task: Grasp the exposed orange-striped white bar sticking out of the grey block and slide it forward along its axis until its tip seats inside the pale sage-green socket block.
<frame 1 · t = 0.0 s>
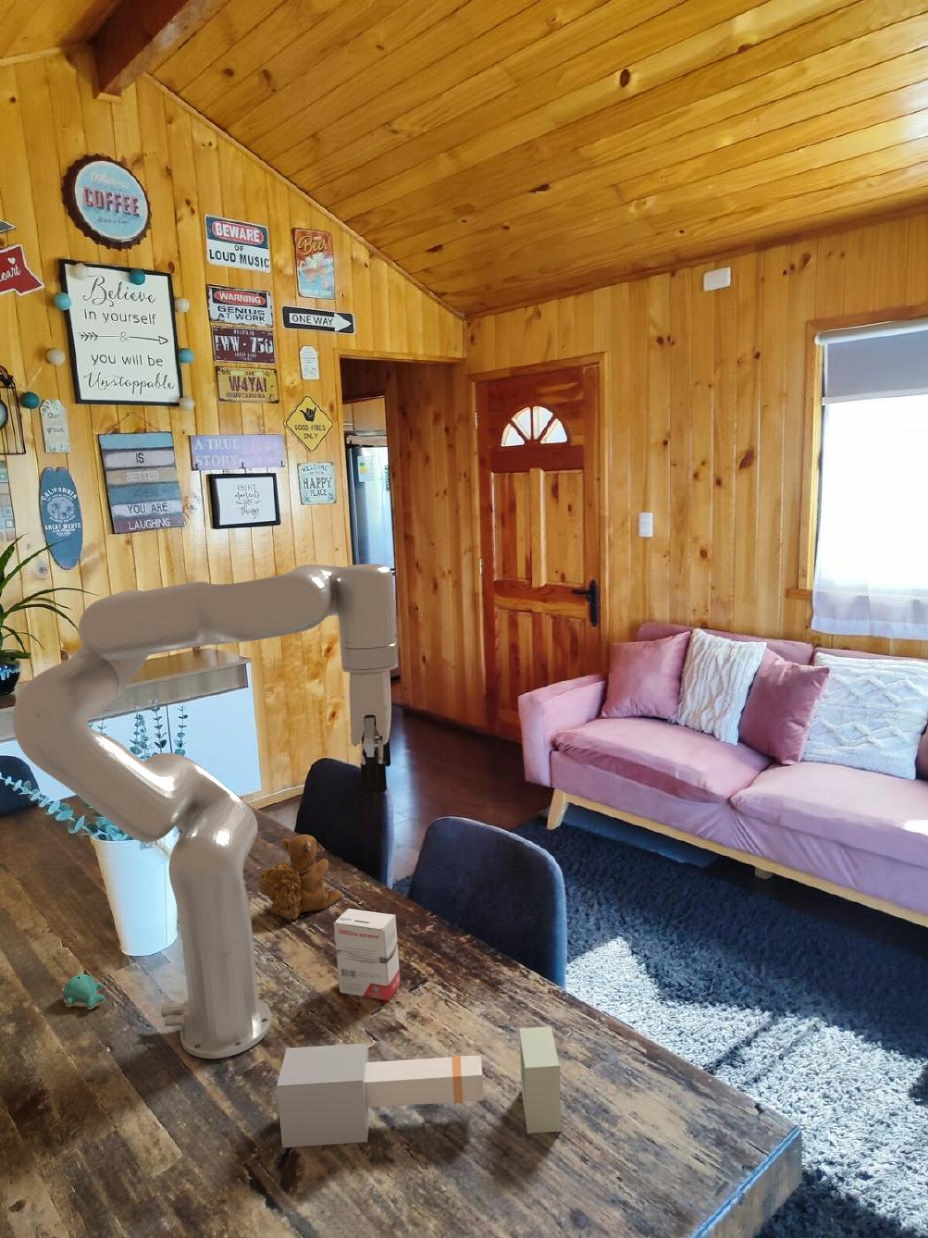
hand: (377, 778, 113), 37 cm above the table, tool pointing down, fingers open, 9 cm apart
stuffed squirrel: (300, 909, 152), on the table
ink box: (370, 989, 127), on the table
grey block: (328, 1124, 100), on the table
whale figurine: (85, 1004, 127), on the table
socket: (540, 1110, 101), on the table
orange-striped white bar: (383, 1084, 99), point 5 cm above the table, slide at 0.0 cm
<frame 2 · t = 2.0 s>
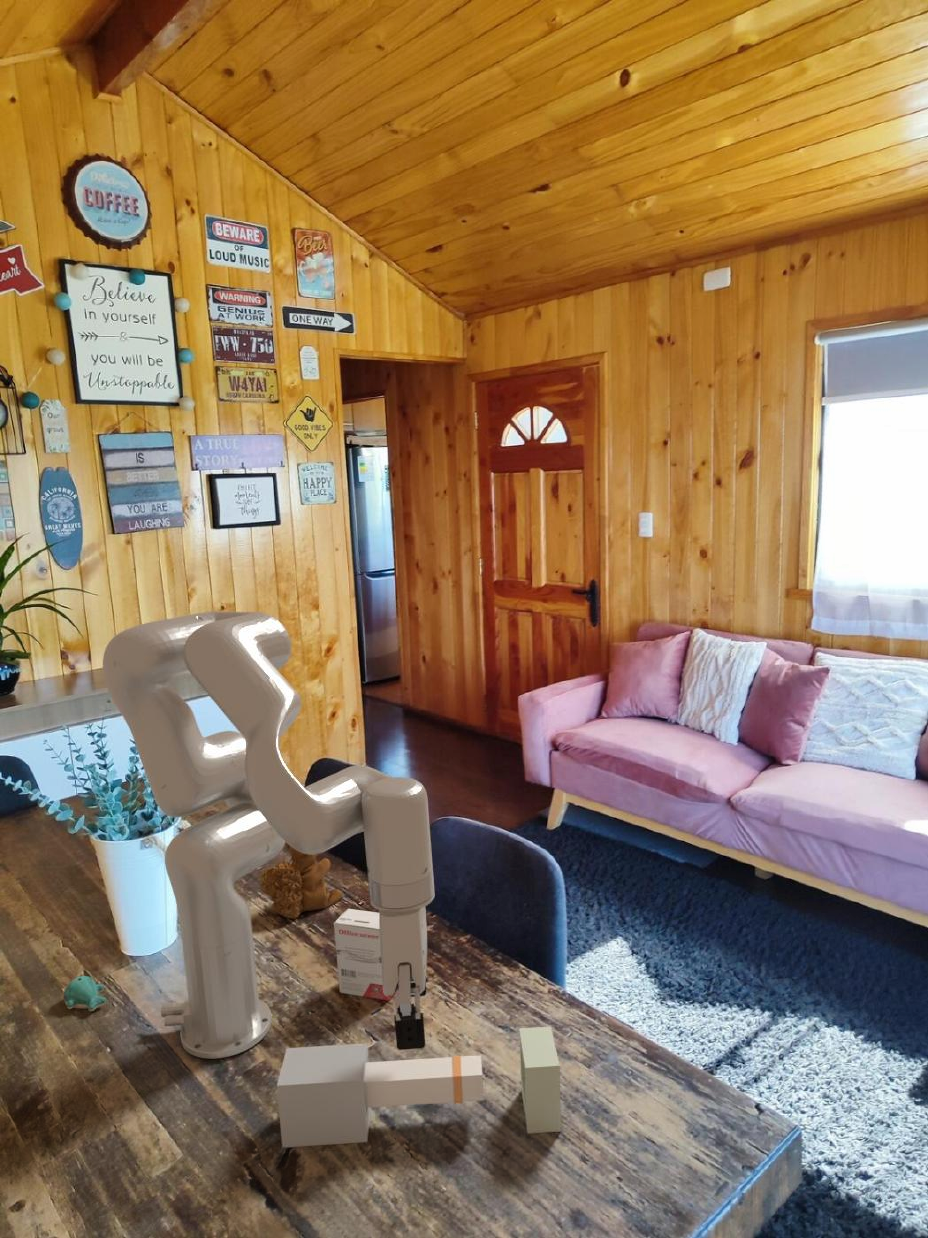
hand: (412, 1020, 98), 14 cm above the table, tool pointing down, fingers open, 9 cm apart
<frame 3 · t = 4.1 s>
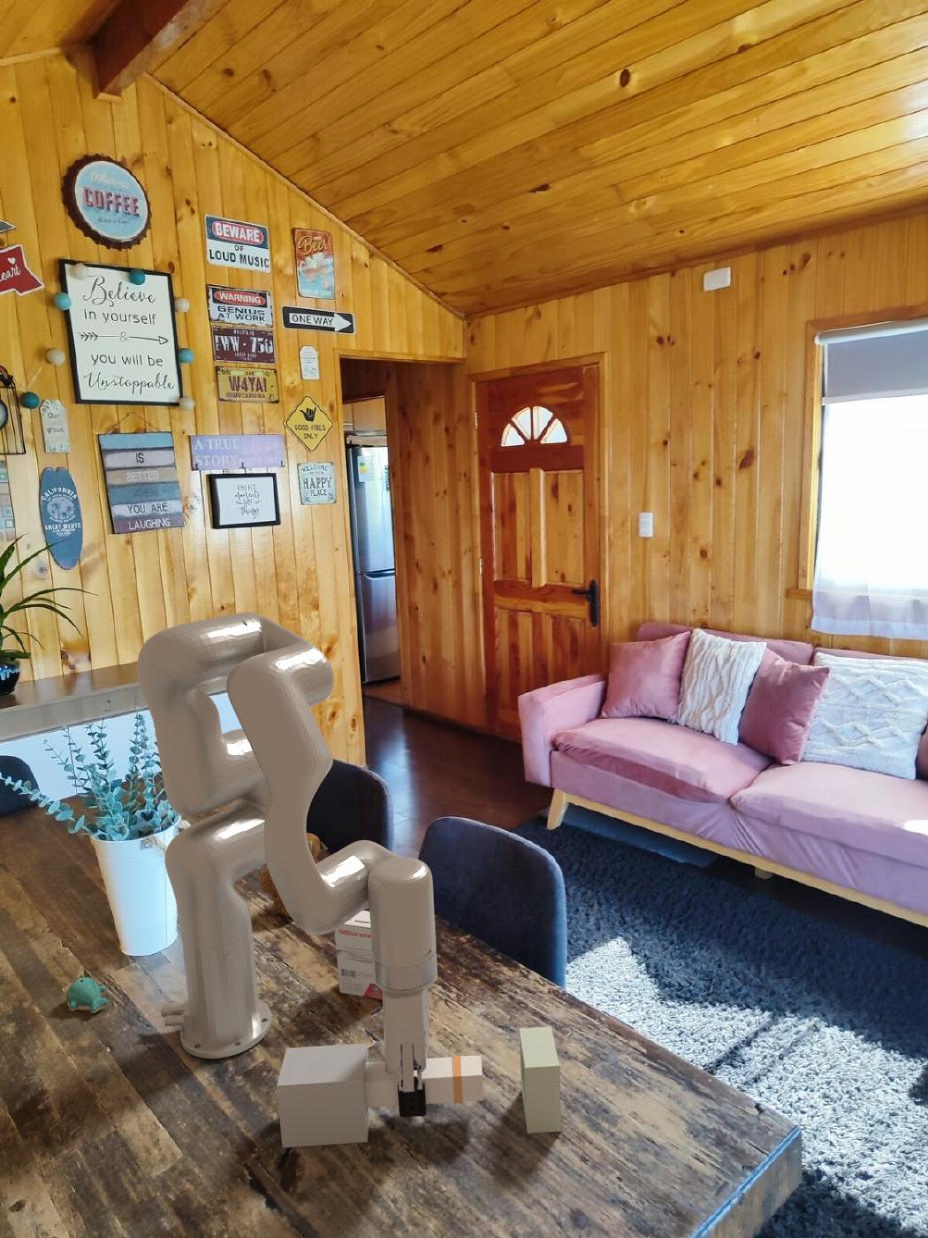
hand: (413, 1100, 100), 2 cm above the table, tool pointing down, fingers closed on orange-striped white bar, 3 cm apart
orange-striped white bar: (383, 1084, 99), point 5 cm above the table, slide at 0.0 cm, touching gripper
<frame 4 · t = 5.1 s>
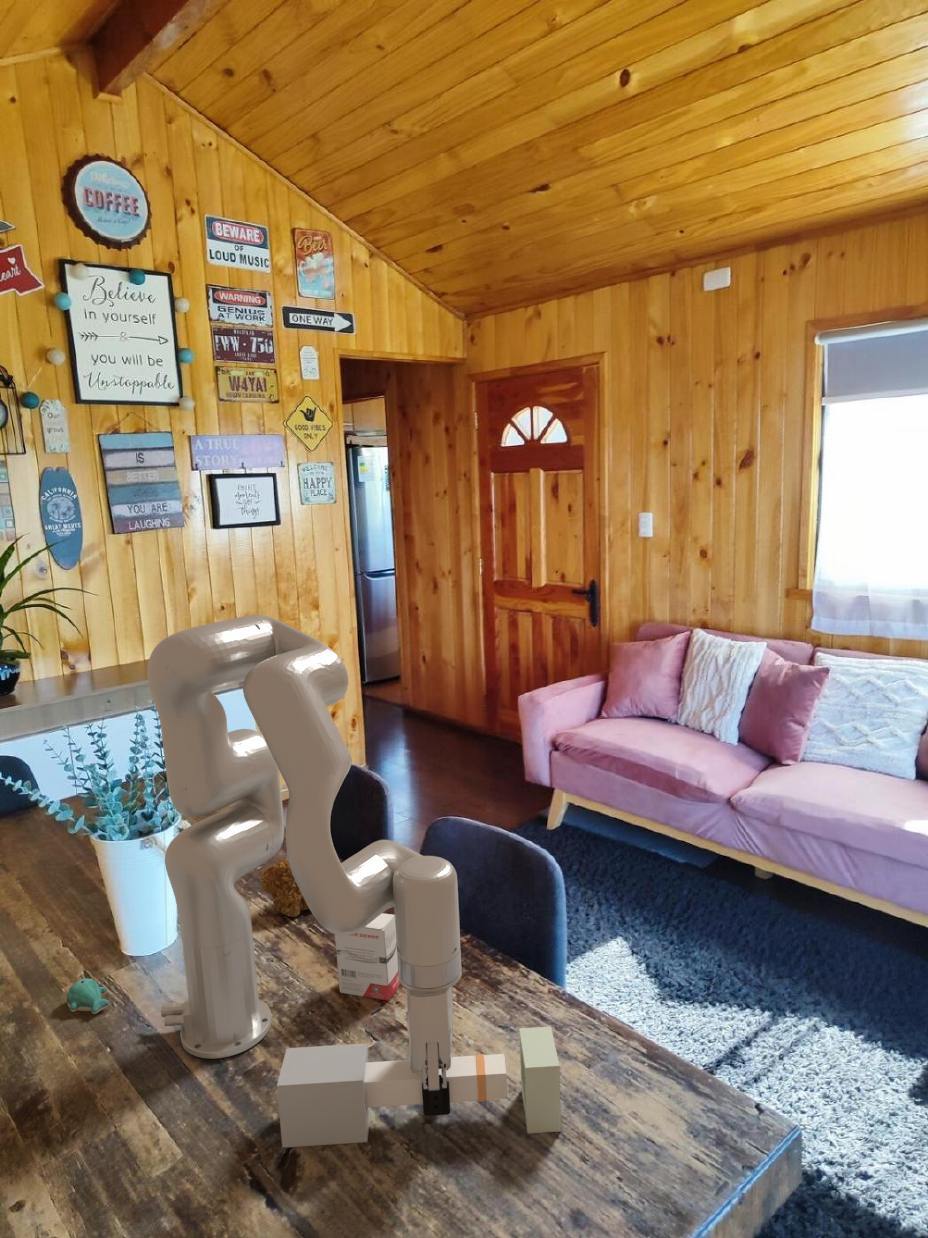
hand: (436, 1099, 100), 2 cm above the table, tool pointing down, fingers closed on orange-striped white bar, 3 cm apart
orange-striped white bar: (407, 1082, 100), point 5 cm above the table, slide at 2.9 cm, touching gripper
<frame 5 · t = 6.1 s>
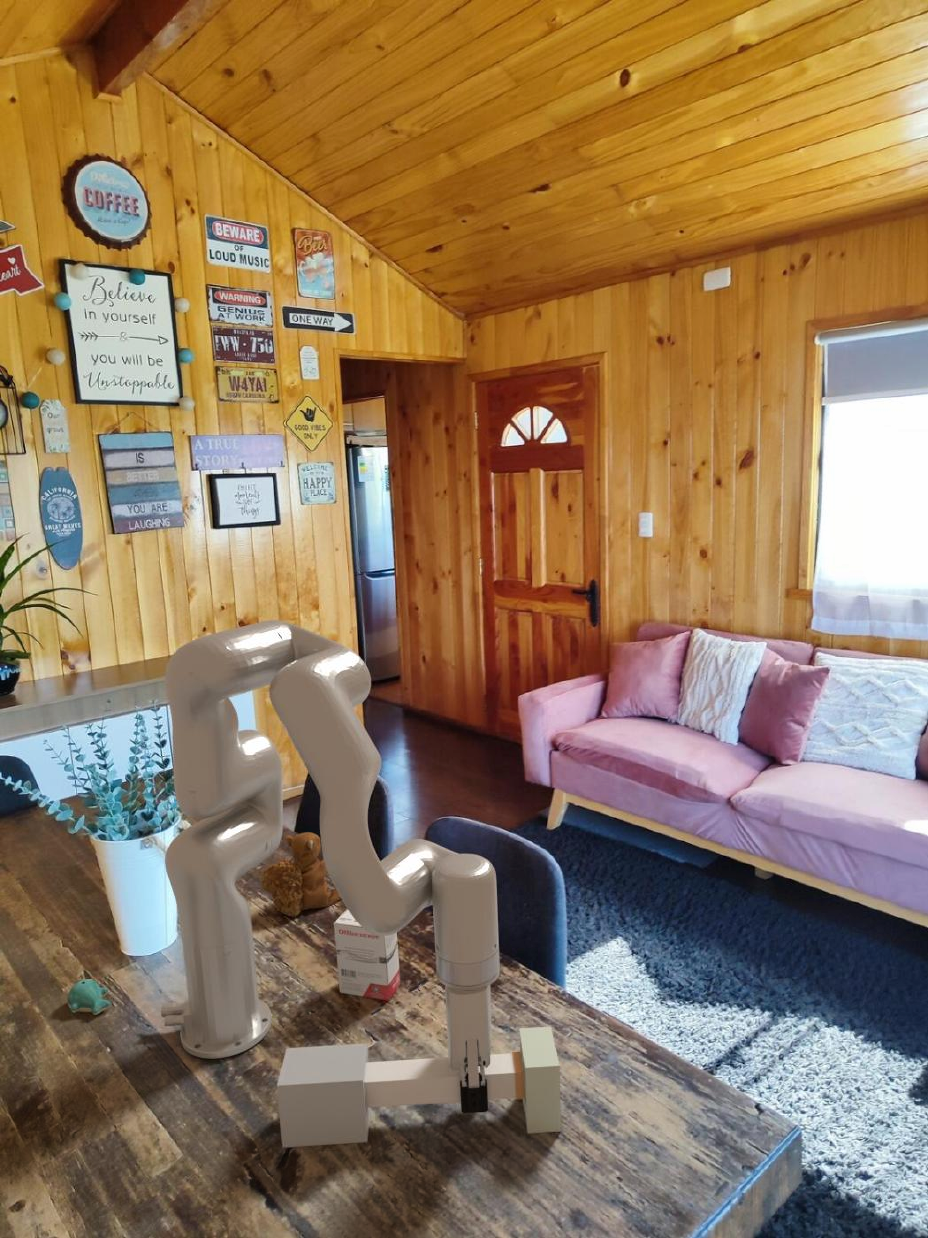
hand: (473, 1097, 100), 2 cm above the table, tool pointing down, fingers closed on orange-striped white bar, 3 cm apart
orange-striped white bar: (444, 1080, 100), point 5 cm above the table, slide at 7.4 cm, touching gripper
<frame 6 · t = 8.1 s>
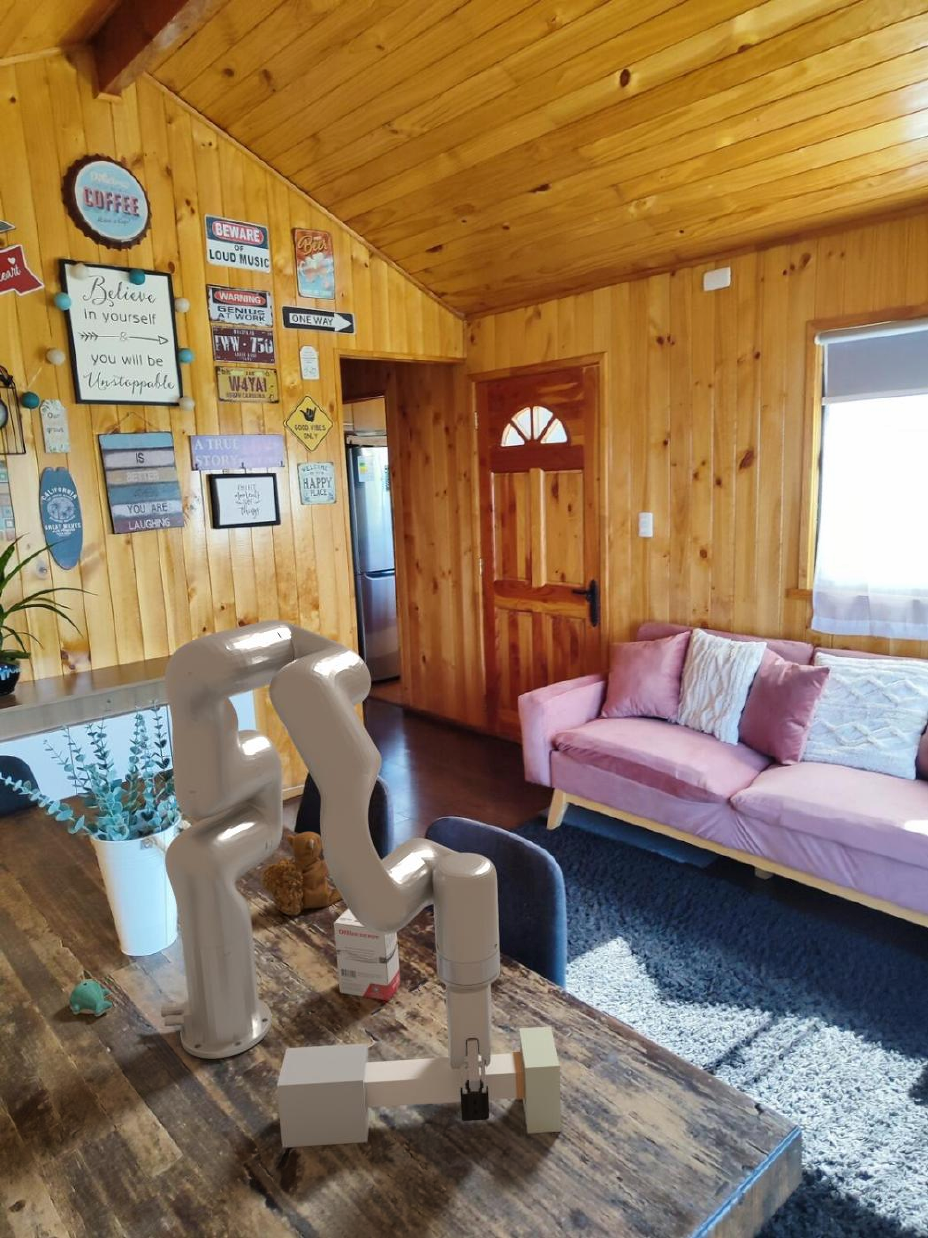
hand: (473, 1088, 100), 4 cm above the table, tool pointing down, fingers open, 9 cm apart
orange-striped white bar: (445, 1080, 100), point 5 cm above the table, slide at 7.5 cm
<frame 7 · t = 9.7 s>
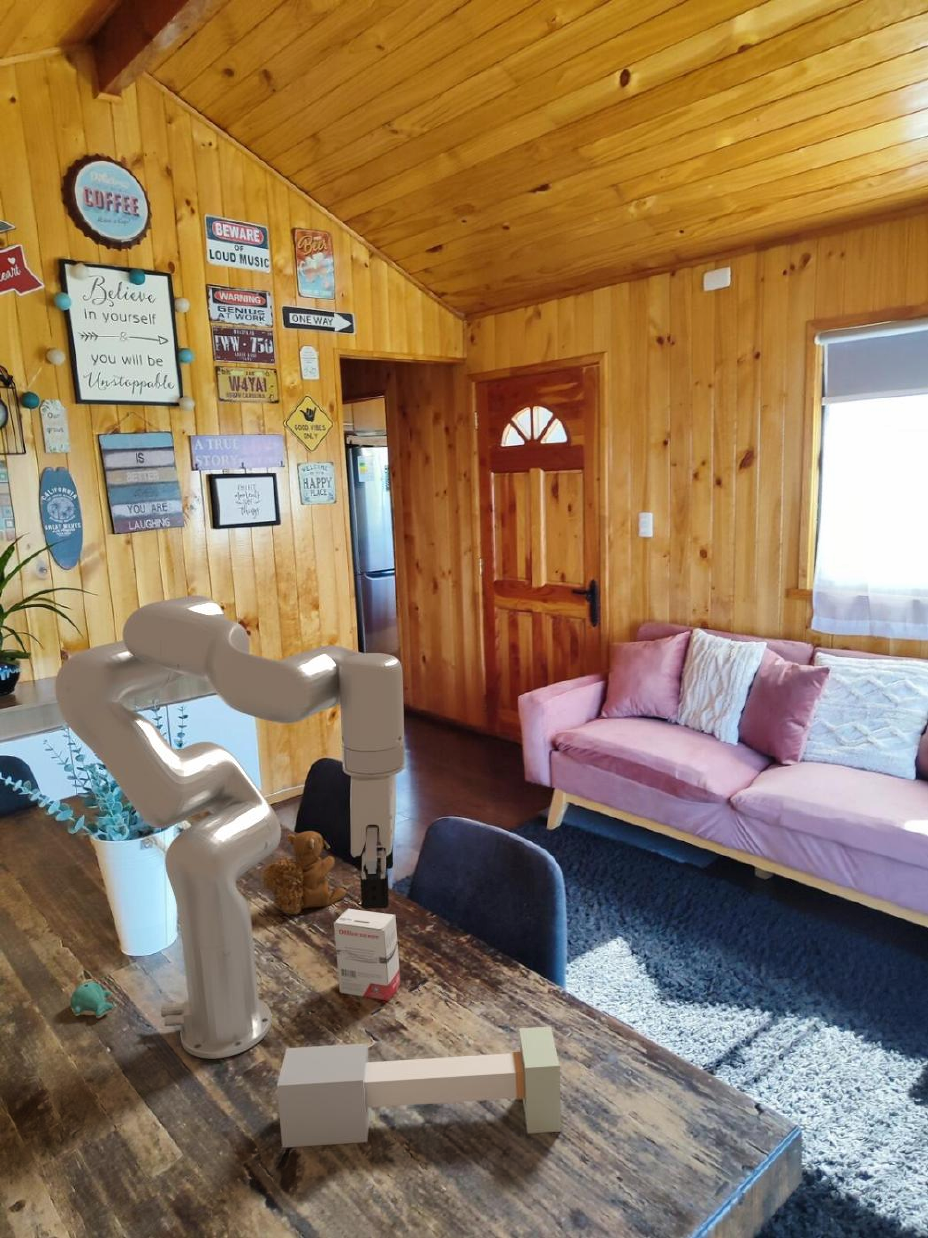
hand: (378, 886, 102), 27 cm above the table, tool pointing down, fingers open, 9 cm apart
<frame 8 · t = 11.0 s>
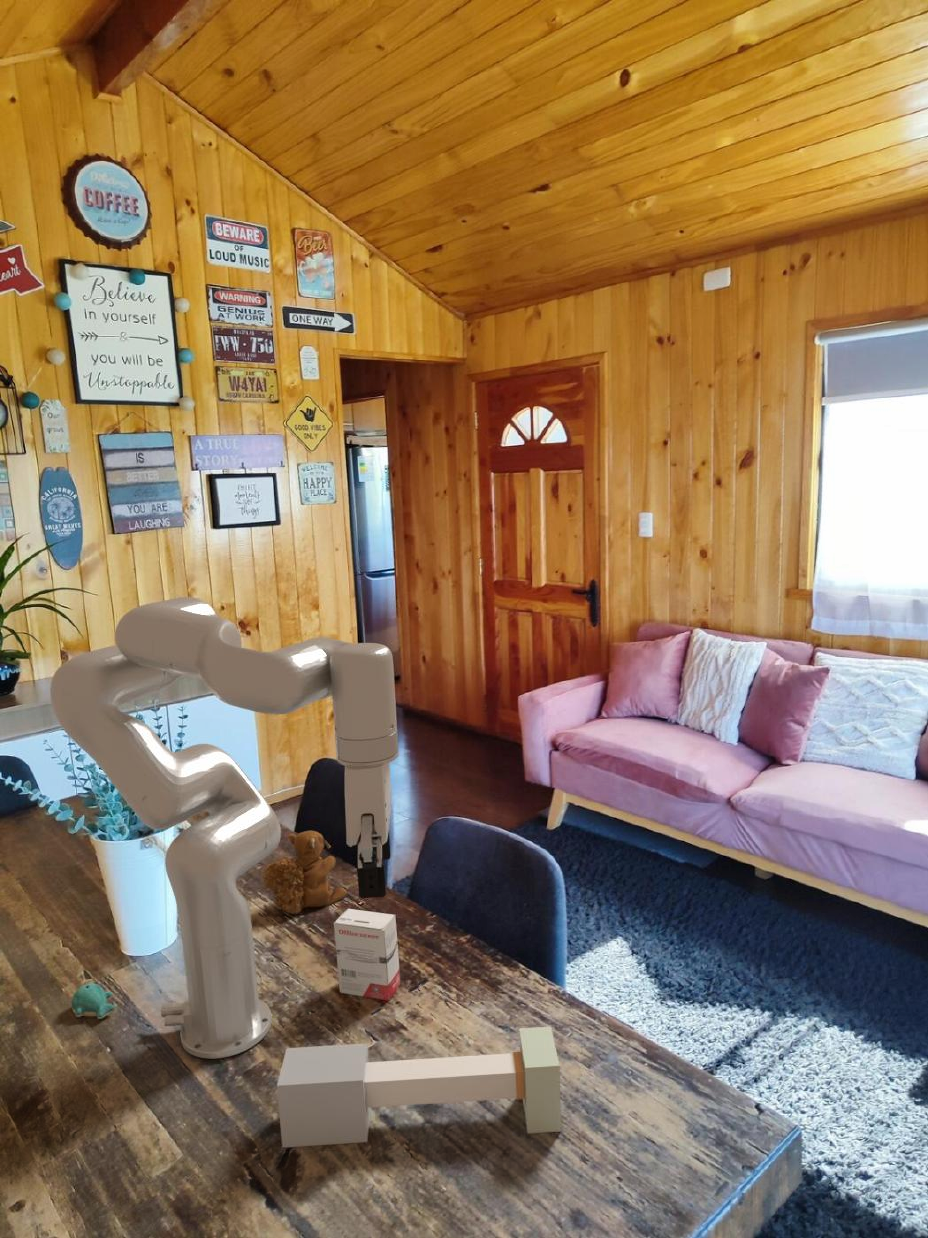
hand: (375, 877, 102), 28 cm above the table, tool pointing down, fingers open, 9 cm apart
at the end: orange-striped white bar slide at 7.5 cm; the gripper is holding nothing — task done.
